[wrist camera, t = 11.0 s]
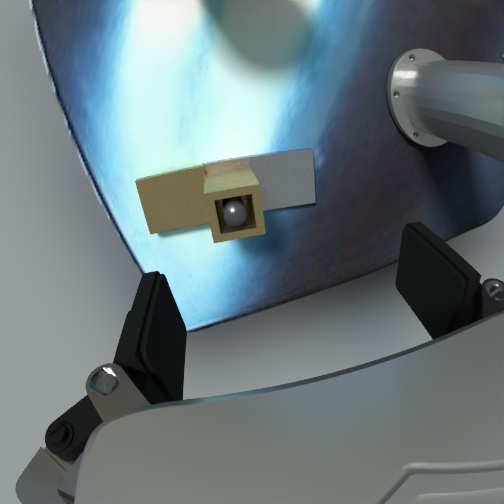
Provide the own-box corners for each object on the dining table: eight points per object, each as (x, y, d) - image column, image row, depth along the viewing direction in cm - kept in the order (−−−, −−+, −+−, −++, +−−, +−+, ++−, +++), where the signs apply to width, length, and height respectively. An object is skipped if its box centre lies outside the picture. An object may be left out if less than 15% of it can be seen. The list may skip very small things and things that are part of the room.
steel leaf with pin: (310, 148, 29) (340, 165, 22) (313, 200, 32) (341, 231, 25) (202, 163, 29) (199, 185, 22) (212, 216, 32) (213, 253, 25)
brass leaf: (247, 156, 28) (258, 174, 22) (255, 211, 31) (266, 242, 25) (137, 179, 27) (117, 202, 21) (151, 231, 31) (138, 265, 25)
